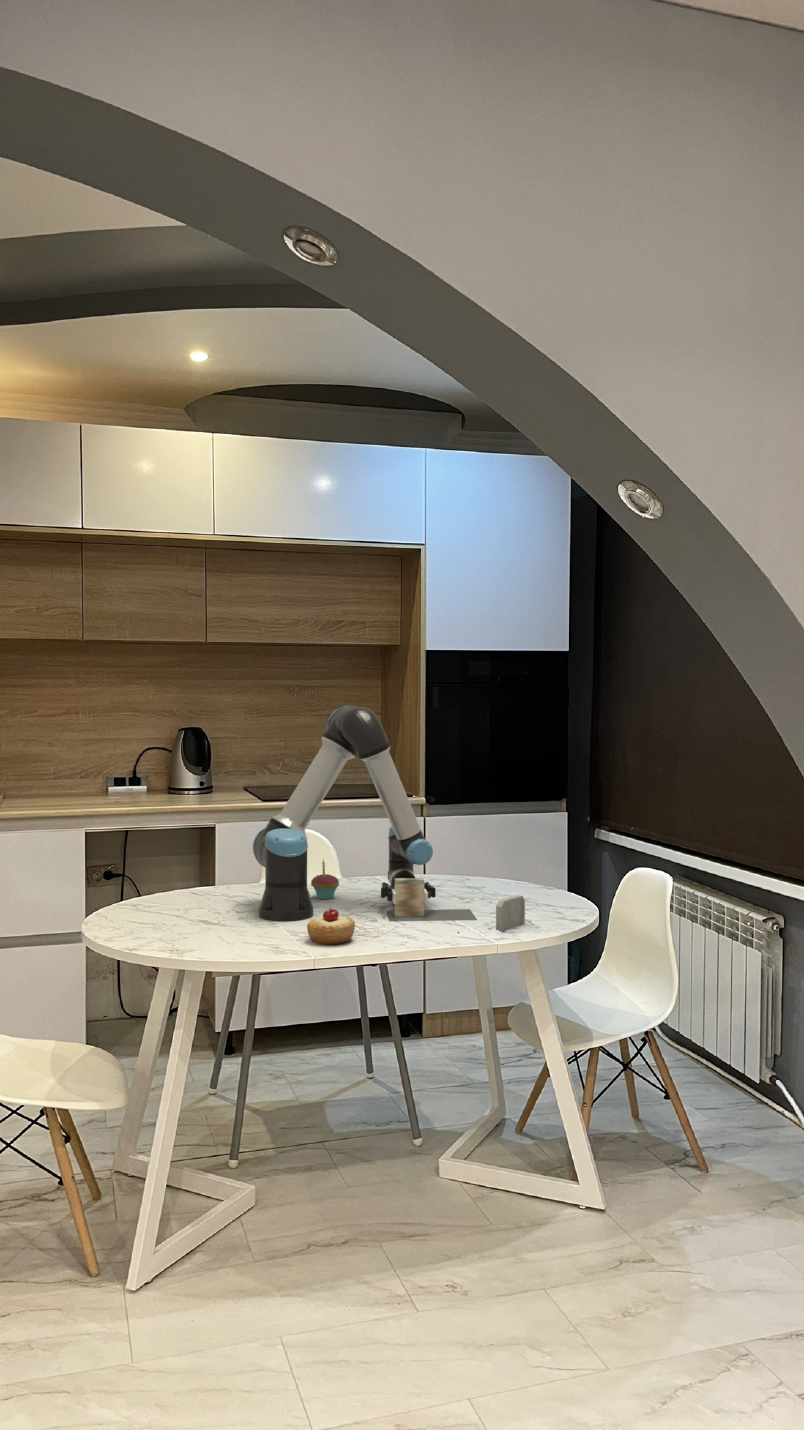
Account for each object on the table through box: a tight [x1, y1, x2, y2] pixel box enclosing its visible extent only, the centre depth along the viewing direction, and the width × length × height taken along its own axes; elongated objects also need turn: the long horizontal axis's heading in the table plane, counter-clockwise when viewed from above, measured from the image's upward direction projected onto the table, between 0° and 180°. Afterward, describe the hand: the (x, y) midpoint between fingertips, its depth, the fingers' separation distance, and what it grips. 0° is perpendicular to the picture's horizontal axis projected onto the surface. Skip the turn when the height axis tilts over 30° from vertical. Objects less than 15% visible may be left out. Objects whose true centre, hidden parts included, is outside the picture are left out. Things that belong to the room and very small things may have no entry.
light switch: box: [495, 894, 526, 932], centre depth 281 cm, size 2×12×8 cm, turn 143°
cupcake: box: [310, 859, 340, 900], centre depth 318 cm, size 9×8×12 cm
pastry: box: [306, 906, 356, 946], centre depth 265 cm, size 12×12×9 cm
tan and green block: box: [393, 877, 425, 916], centre depth 291 cm, size 8×3×10 cm, turn 95°
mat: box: [385, 908, 478, 922], centre depth 292 cm, size 24×14×1 cm, turn 95°
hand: (410, 898), depth 287 cm, fingers closed on tan and green block, 8 cm apart
